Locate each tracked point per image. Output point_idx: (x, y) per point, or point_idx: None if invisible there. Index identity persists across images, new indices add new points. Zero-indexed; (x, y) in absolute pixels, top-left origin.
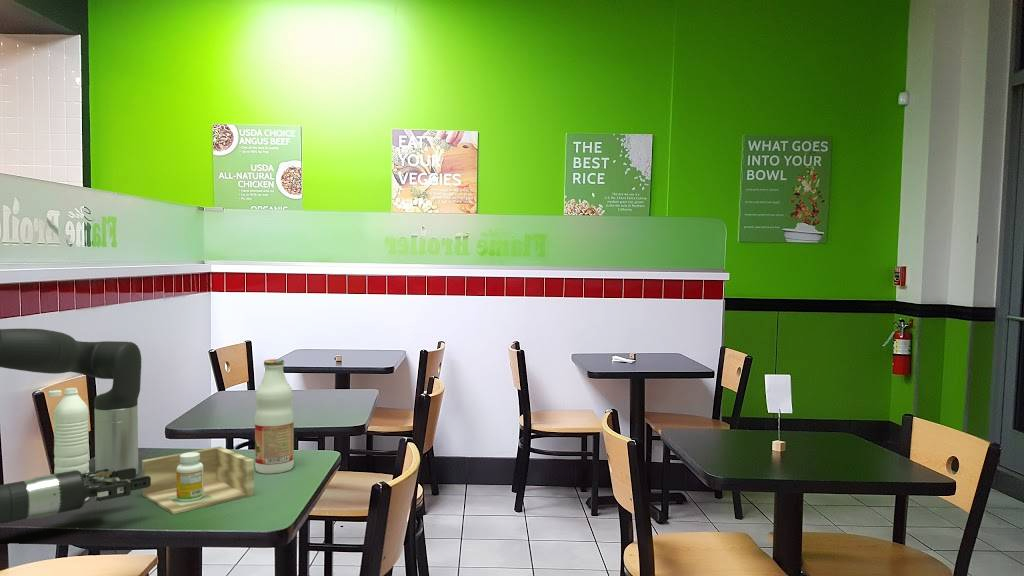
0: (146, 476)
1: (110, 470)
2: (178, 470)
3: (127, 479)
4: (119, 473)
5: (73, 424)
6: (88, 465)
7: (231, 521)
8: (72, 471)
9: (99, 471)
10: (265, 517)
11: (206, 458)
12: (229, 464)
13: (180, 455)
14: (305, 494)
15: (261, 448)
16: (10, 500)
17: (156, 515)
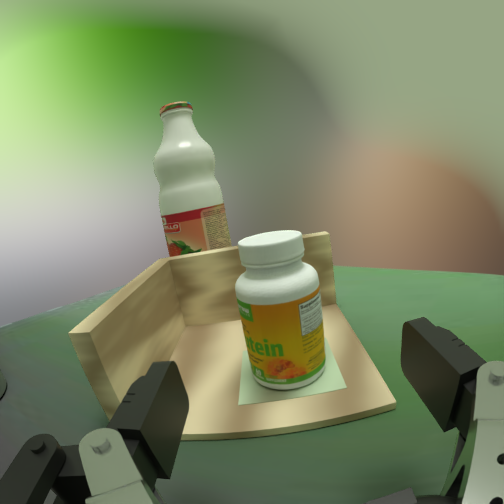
0: (422, 322)
1: (95, 446)
2: (287, 295)
3: (501, 369)
4: (152, 431)
5: None
6: None
7: (483, 317)
8: None
9: (27, 484)
10: (470, 291)
11: (166, 285)
12: (243, 272)
13: (257, 244)
14: (372, 270)
15: (205, 250)
16: None
17: (376, 447)
